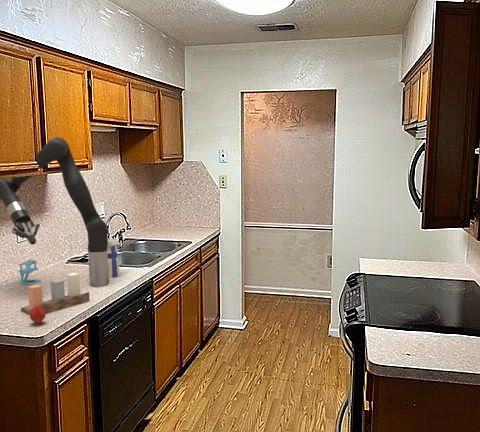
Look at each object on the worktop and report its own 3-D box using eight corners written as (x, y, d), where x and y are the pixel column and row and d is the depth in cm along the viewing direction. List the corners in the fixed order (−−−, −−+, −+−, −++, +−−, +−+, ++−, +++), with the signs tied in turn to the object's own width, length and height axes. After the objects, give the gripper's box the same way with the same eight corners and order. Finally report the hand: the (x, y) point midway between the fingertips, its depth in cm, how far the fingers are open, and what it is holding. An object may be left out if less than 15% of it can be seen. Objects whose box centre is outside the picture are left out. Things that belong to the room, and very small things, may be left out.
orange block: (38, 306, 209) (37, 284, 208) (43, 309, 207) (41, 286, 205) (29, 309, 206) (27, 286, 205) (34, 311, 204) (32, 288, 202)
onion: (27, 325, 194) (25, 305, 193) (37, 320, 199) (36, 301, 198) (38, 327, 192) (37, 307, 190) (49, 322, 197) (47, 302, 196)
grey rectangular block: (60, 300, 217) (59, 278, 215) (65, 302, 214) (63, 280, 213) (51, 303, 214) (50, 281, 212) (56, 305, 211) (55, 282, 210)
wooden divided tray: (76, 296, 229) (75, 287, 228) (89, 301, 222) (89, 292, 221) (21, 311, 209) (20, 302, 209) (33, 317, 202) (33, 307, 202)
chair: (26, 280, 254) (24, 257, 252) (41, 281, 252) (39, 258, 250) (17, 284, 247) (15, 261, 245) (32, 285, 245) (30, 262, 243)
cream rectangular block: (75, 293, 227) (74, 272, 225) (80, 295, 224) (79, 274, 223) (67, 295, 224) (66, 274, 222) (72, 297, 221) (71, 275, 220)
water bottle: (108, 279, 256) (105, 231, 252) (101, 275, 262) (99, 229, 258) (123, 276, 260) (121, 229, 256) (116, 272, 267) (114, 227, 263)
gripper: (6, 210, 220) (21, 241, 214) (34, 206, 230) (50, 235, 224) (1, 221, 224) (17, 251, 218) (30, 216, 234) (45, 245, 228)
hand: (33, 243), depth 221 cm, fingers closed
